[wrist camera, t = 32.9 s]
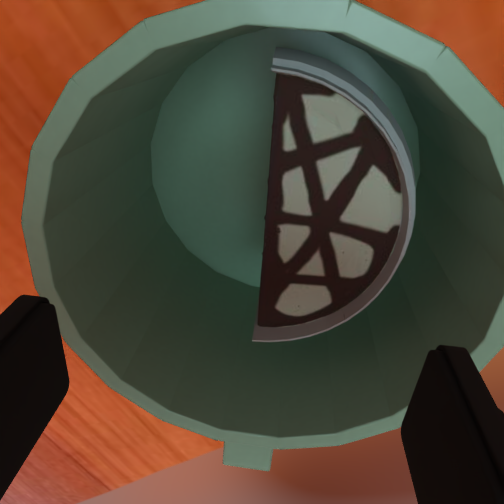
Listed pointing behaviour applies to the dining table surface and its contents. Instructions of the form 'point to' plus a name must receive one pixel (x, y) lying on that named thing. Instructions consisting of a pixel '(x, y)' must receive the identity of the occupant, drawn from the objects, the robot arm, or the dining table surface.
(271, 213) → the food container
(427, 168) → the pot
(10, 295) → the dining table surface
